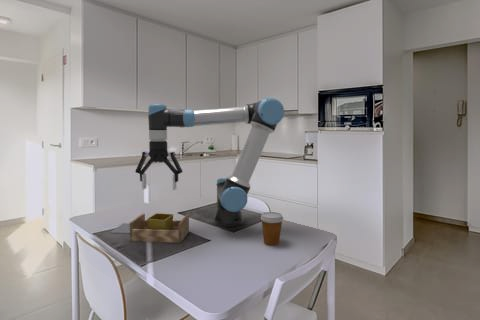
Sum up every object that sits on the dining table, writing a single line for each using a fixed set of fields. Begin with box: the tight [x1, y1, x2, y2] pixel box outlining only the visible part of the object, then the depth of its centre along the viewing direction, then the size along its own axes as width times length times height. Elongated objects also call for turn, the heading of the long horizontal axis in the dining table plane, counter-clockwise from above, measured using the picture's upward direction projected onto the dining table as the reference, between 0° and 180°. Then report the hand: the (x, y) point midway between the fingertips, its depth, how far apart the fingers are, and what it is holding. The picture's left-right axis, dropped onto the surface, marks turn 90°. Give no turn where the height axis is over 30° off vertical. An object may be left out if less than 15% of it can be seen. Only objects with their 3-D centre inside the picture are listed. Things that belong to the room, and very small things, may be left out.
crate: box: [129, 212, 190, 244], centre depth 130 cm, size 22×14×8 cm, turn 86°
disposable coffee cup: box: [260, 211, 284, 246], centre depth 123 cm, size 10×10×12 cm
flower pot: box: [146, 212, 174, 230], centre depth 130 cm, size 9×9×9 cm
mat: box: [109, 222, 130, 235], centre depth 140 cm, size 13×13×1 cm
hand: (159, 189), depth 128 cm, fingers open, 13 cm apart
